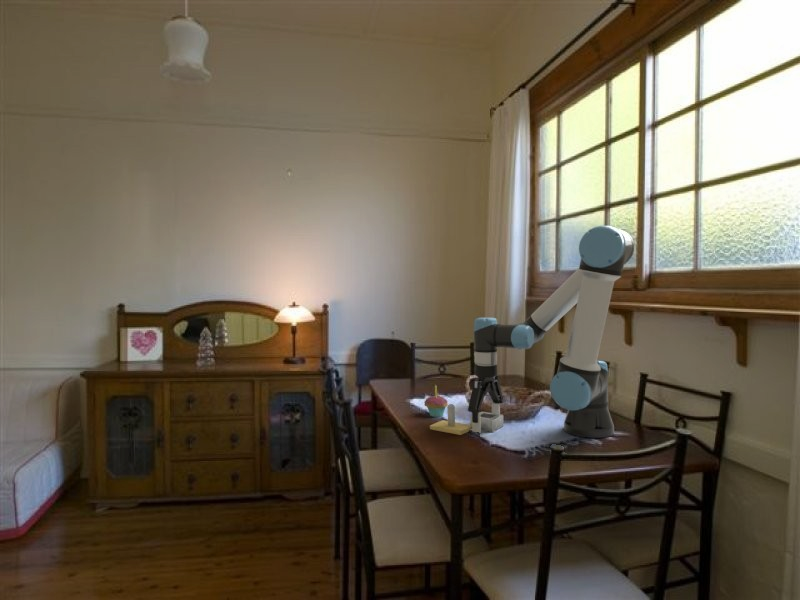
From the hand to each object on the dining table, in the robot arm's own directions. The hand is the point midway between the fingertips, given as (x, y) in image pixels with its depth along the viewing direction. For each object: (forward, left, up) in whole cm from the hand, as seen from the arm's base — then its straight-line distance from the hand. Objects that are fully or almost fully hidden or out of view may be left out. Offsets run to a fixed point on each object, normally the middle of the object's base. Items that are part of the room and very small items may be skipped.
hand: (486, 427), depth 169 cm
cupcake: (+23, -4, 0) cm, 23 cm away
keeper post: (+9, +8, 0) cm, 12 cm away
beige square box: (0, 0, 0) cm, 0 cm away
